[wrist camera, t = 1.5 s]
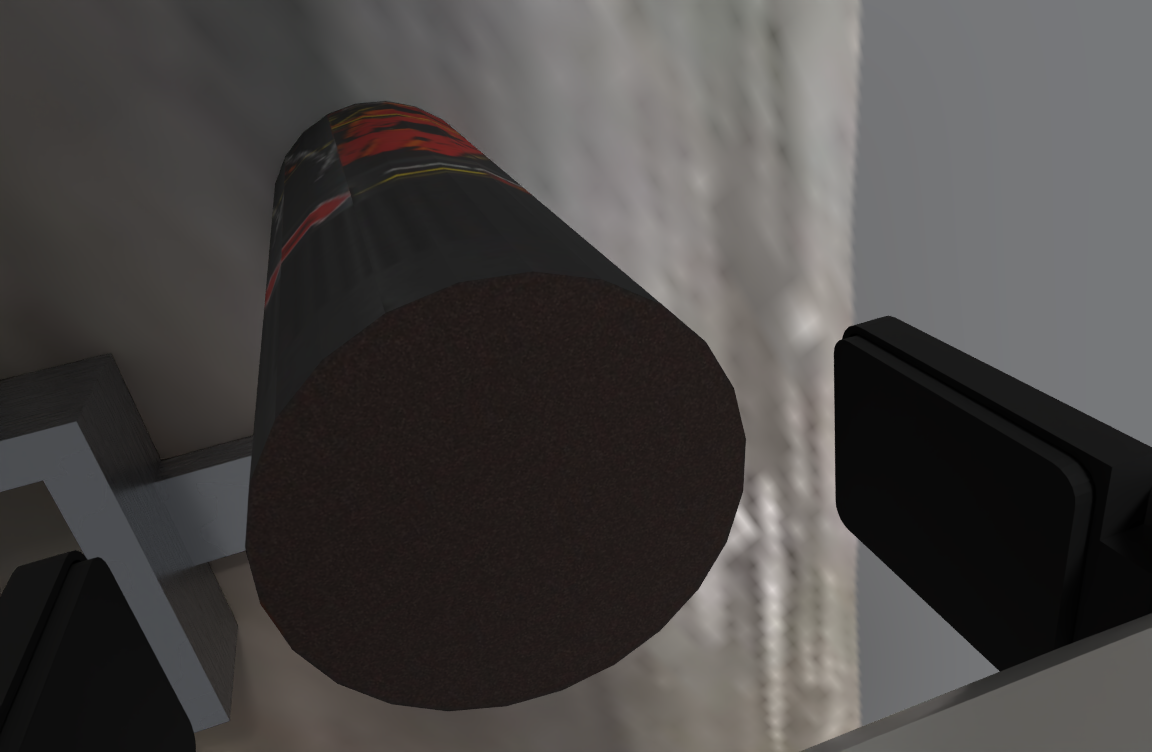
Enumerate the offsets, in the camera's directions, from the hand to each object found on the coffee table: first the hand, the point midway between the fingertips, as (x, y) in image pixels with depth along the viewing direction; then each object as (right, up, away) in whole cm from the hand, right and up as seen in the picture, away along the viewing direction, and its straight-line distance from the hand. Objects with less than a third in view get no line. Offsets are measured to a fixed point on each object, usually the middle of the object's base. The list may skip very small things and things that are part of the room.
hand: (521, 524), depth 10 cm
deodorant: (-5, +6, +12) cm, 15 cm away
